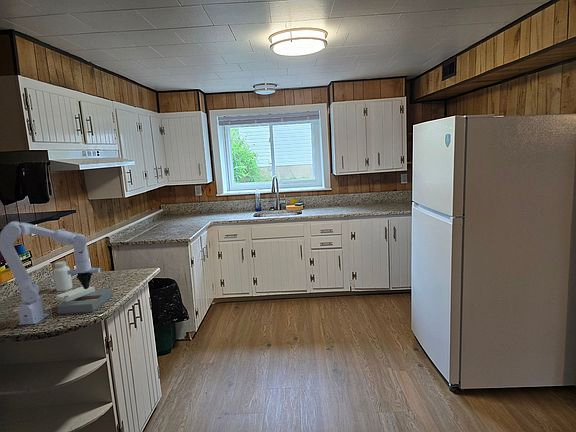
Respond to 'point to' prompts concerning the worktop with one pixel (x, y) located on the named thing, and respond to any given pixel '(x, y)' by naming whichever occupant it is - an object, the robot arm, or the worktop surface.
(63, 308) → the gray storage bin
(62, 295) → the cover
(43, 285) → the worktop surface
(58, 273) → the pill bottle
